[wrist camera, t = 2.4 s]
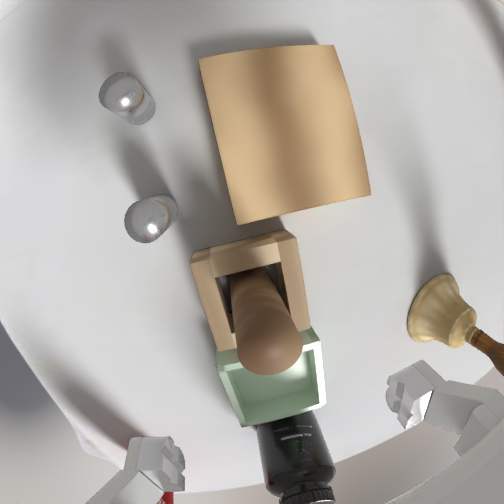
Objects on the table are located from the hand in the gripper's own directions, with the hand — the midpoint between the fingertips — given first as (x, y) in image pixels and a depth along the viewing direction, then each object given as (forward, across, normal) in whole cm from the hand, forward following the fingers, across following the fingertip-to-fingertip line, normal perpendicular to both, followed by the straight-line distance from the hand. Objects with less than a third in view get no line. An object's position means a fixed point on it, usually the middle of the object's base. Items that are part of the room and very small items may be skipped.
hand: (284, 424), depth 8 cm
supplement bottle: (+14, -1, +18) cm, 23 cm away
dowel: (+14, 0, 0) cm, 14 cm away
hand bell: (+14, -20, +9) cm, 25 cm away
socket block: (+14, 0, 0) cm, 14 cm away
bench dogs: (+14, +4, -11) cm, 18 cm away
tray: (+14, 0, +9) cm, 16 cm away
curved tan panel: (+14, -6, -11) cm, 19 cm away
